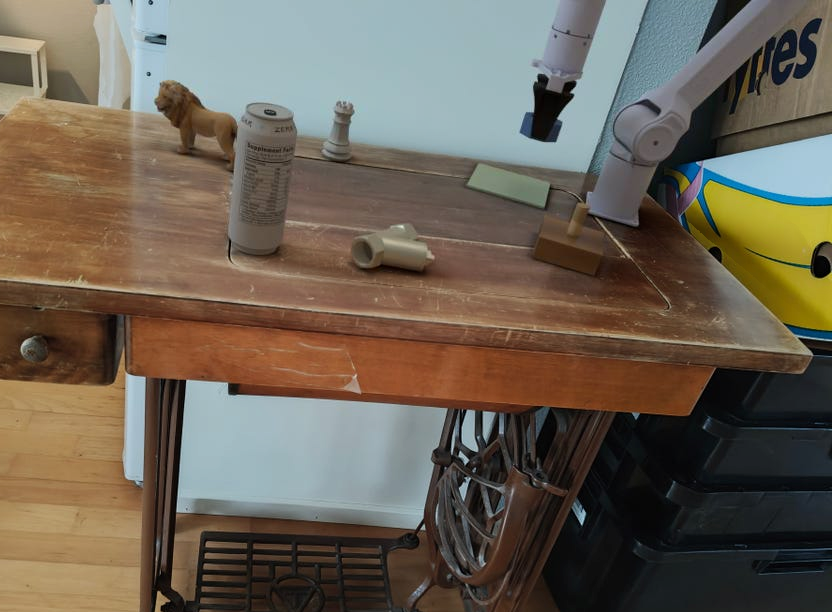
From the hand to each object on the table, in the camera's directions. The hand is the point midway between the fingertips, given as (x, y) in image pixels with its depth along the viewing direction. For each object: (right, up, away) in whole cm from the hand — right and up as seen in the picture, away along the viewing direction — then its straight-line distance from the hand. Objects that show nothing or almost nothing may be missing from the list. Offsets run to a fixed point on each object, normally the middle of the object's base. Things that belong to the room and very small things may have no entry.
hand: (539, 133), depth 105 cm
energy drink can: (-38, -20, -23) cm, 49 cm away
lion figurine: (-48, -5, -4) cm, 48 cm away
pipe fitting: (-22, -22, -21) cm, 38 cm away
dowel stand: (+1, -19, -10) cm, 21 cm away
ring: (0, 0, 0) cm, 0 cm away
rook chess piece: (-30, -2, +6) cm, 30 cm away
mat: (-2, -5, +9) cm, 11 cm away
